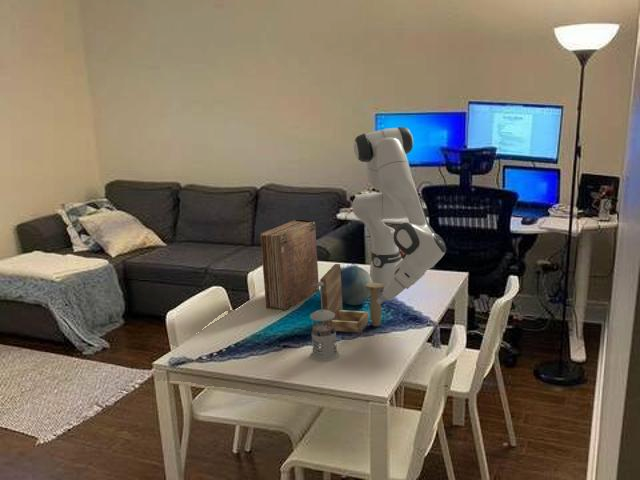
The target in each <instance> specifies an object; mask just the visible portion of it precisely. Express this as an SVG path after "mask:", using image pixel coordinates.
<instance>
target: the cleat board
mask: <svg viewBox="0 0 640 480" xmlns="http://www.w3.org/2000/svg"><path fill="white" fill-rule="evenodd" d="M341 271H342V270H341V263H335V264H333V265H332V266H331V267H330V269H329V270H328V271H327V272H326V273H325V274H323V276H322V277H321V278H320V279H319V282H323V284H324V285H323V286H321V289H320V294H321V293H322V305H321V310H322V309H323V310H329V311H331V312H333V313H335V317H334V318H333V319H332V320H329V321H323V322H322V323H329V324H332V325H334V329H335V331H336V332H346V333H347V332H349V333H350V332H351V333H362V332H363V330H364V329H365V328H366V326H367V324H368V322H370V321H369V318H370V317H369V316H370V315H369V311H361V310H347V309H346V310H345V309H343V302H342V289H341ZM328 333H332V331H329V332H328Z"/></svg>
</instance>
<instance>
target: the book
mask: <svg viewBox="0 0 640 480" xmlns="http://www.w3.org/2000/svg"><path fill="white" fill-rule="evenodd" d="M259 235H260V236H259V237H260V249H261V259H262V260H261V261H262V263H261V264H262V271H263V273H262V275H263V286H264V296H265V297H264V298H265V308H266V309H269V308H274V309H279V310H280V309H281V310H284V311H285V312H287V311H289V310H291V309H292V308H294V307H296V306H297V305H298V304H300V303H302V302H303V301H306V299H309V298H310V297H312V296H313V295H315V294H316V293H318V292H320V286H318V283H319V282H320V279H319V267H318V265H319V264H318V263H319V262H318V253H317V252H318V249H317V234H316V222H315V220H306V219H305V220H303V219H294V220H291V221H289V222H287V223H284V224H282V225H279V226H276V227H275V228H272V229H269V230H266V231H264V232H262V233H260V234H259Z"/></svg>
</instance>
